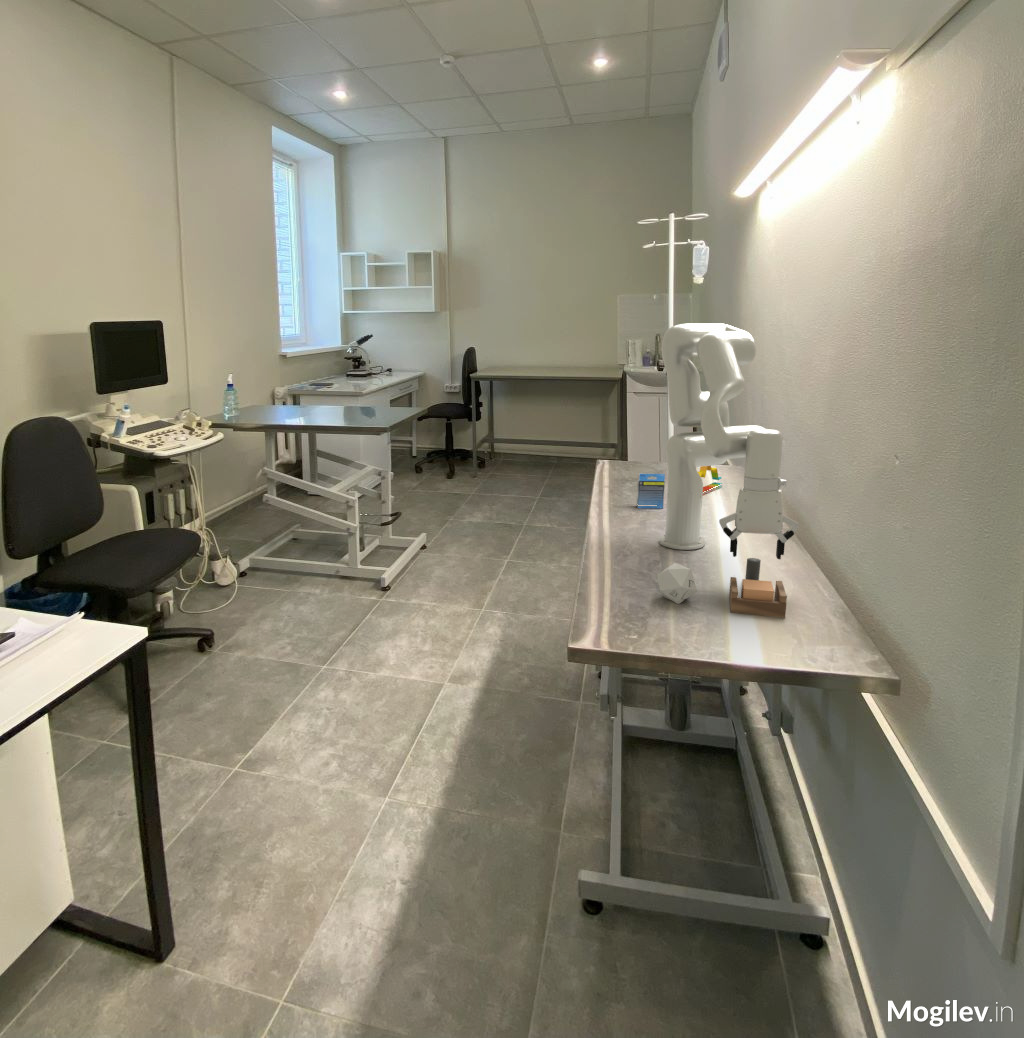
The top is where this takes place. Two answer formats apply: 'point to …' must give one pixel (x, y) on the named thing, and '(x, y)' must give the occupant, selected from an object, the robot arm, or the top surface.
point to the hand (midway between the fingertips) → (756, 556)
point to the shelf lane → (758, 602)
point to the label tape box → (651, 490)
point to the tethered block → (756, 583)
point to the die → (676, 583)
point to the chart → (714, 477)
